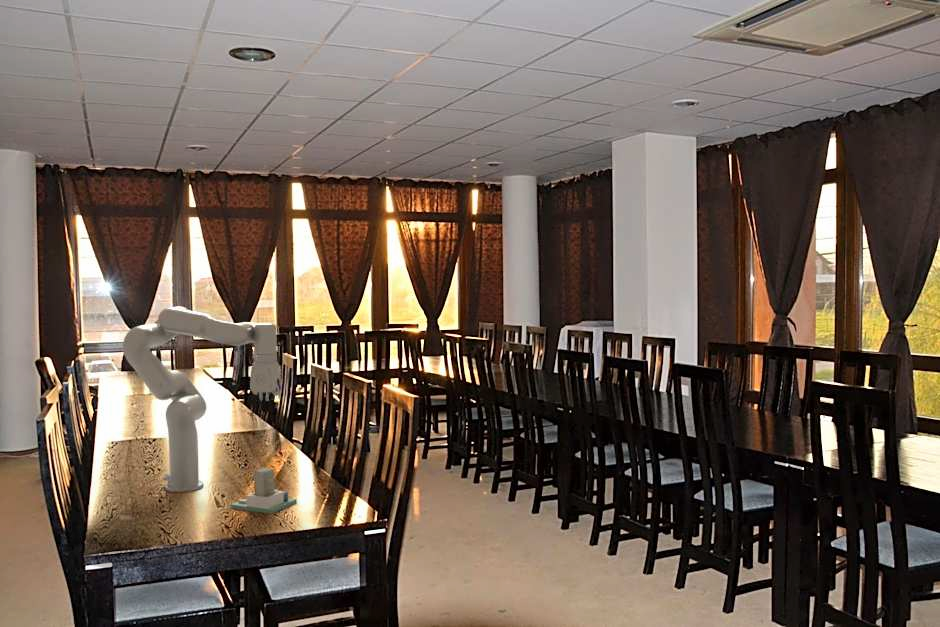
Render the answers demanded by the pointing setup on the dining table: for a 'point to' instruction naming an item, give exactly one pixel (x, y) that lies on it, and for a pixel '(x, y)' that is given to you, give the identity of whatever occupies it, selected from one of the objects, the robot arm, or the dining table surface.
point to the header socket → (265, 500)
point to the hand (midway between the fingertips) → (266, 411)
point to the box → (264, 482)
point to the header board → (243, 506)
